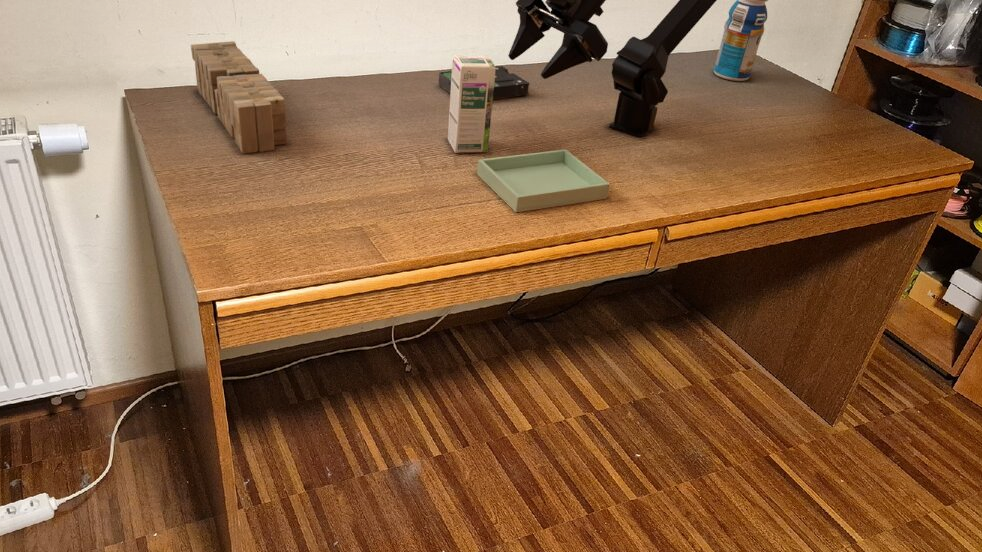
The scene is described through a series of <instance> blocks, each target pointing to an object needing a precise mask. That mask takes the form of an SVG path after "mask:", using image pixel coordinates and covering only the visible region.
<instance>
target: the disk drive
mask: <svg viewBox="0 0 982 552" xmlns="http://www.w3.org/2000/svg"><path fill="white" fill-rule="evenodd" d="M495 67H496V70H495V81H494V91H493V100H499V99H507V98H513V97H520V96H525V95H528V94H529V87H530V82H529V81H527V80H525V79H523V78H522V77H520V75H518V74H516V73H514V72H513V73H510V72H509V69H508V68H506V67H505V66H503V65H500V66H499V65H495ZM451 77H452V70H448V71H442V72H441V71H440V72H439V73H438V85H439V86H440V87H441V88H442V89H444V90H445V91H447V92H448V93H449V94H451Z"/></svg>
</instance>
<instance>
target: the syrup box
mask: <svg viewBox="0 0 982 552" xmlns="http://www.w3.org/2000/svg"><path fill="white" fill-rule="evenodd" d="M451 60H452V63H451V71H452V77H451V93H449V94H450V95H449V96H450V97H449V98H450V99H449V111H448V112H449V113H448V128H447V129H448V130H447V141H448V142H449V145H450V146H451V148H452V150H453V152H454V153H455V154H460V153H488V151H489V143H490V130H491V123H492V122H491V120H492V110H493V102H494V101H493V100H494V99H493V91H494V81H495V70H496V65H495V64H494V62H493V61H492V60H491V58H489V56H487V55H480V56H479V55H453V56H452V59H451Z"/></svg>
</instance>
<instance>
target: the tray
mask: <svg viewBox="0 0 982 552" xmlns="http://www.w3.org/2000/svg"><path fill="white" fill-rule="evenodd" d="M476 175H477V176H478V178H480V179H481V180H482V181H483V182H484V183H485V184H486V185H487V186H488V187H489V188H490V189H491V190H492V191H493V192H495V194H497V196H499V198H500V199H501V200H502V201H503V202H505V204H507V205H508V206H509V207H510V208H511V209H512V210H513V211H514V212H515V213H521V212H528V211H534V210H541V209H547V208H555V207H561V206H568V205H575V204H580V203H587V202H594V201H600V200H607V199H608V196H609V191H610V186H611V184H610V182H608V181H607V180H606V179H605V178H603V177H602V176H600V175H599V174H598V173H597V172H595V170H593V169H592V168H591V167H589V166H587V164H585V163H584V162H582V161H581V160H580V159H579V158H578V157H577V156H575V155H574V154H572V153H571V151H569V150H568V149H558V150H557V149H556V150H547V151H540V152H531V153H524V154H523V153H522V154H515V155H507V156H498V157H490V158H481V159H478V160H477V169H476Z"/></svg>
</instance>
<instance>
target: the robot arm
mask: <svg viewBox="0 0 982 552" xmlns="http://www.w3.org/2000/svg"><path fill="white" fill-rule="evenodd" d="M606 1H607V0H545V2H544V0H516V2H515V6H516V7H517V14H518V15H519V25H518V29H517V32H516V34H515V37H514V40H513V41H512V45H511V48H510V50H509V52H508V55H507V56H508V58H509V59H510V60H511V61H514V60H515V59H517V58H518V57H520V56H522V55H523V54H524V53H526V52H527V51H528V50H529V49H530V48H531V47H533V46H534V45H536V43H539V41H541V40H542V39H543V38H544V37H545V36H546V35H545V34H544V33H545V32H548V31H550V29H551V28H553V29H555V30H557V31H559V32H561V33H563V38H562V43H561V45H560V47H558V50H557V51H556V52H555V53H554V54H553V56H552V57H551V58H550V60H549V61H548V62H547V63H546V64H545V66H544V68H543V70H542V71H541V73H540V77H541V78H542V79H543V80H547V79H549V78H551V77H553V76H555V75H558V74H560V73H561V72H564V71H566V70H568V69H572V68H574V67H576V66H579V65H582V64H585V63H592V62H593V59H594V60H595V61H597V62H600V61H601V60H602V58H603V57H604V56H605V55H606V54H607V52H608V47H609V43H608V41H607V39H606V38H605V36H604V35H603V34H602V32H601V31H600V29H599V27H598V26H597V25H596V24H595V23H593V22H591V21H590V20H591V19H592V17H593V16H594V15H595V16H597V17H598V18H599V17H601V15H603V13H604V10H603V8H602V6H603V5H604V3H605V2H606ZM717 1H718V0H678V1H677V2H676V4H675V5H674V6H673V7H672V8H671V9H670V10H669V12H668V13H667V14H666V15H665V16H664V18H662V19H661V21H660V22H659V23H658V24H657V25H656V27H655V28H654V29H653V30H652V32H650V34H648V35H647V36H646V37H644V38H642V39H640V38H638V37H635V36H631V37H630V38H629V39H628V40H627V42H626V43H625V45H624V46H623V47H622V48H621V49H620V50H618V51H617V52H616V55H617V56H616V57H615V58H614V60H613V61H612V64H611V67H612V68H611V77H612V80H613V88H614V90H616V91H619V93H618V98H617V103H616V107H615V108H616V109H615V113H614V119H613V121H612V122H611V123H610V124H609V126H608V127H609V128H610V129H614V130H615V131H619V132H623V133H626V134H628V135H631V136H635V137H636V138H637V137H638V138H641V137H643V136H644V135H646V134H648V133H649V132H650V131H652V130H653V129H654V128H655V122H656V117H657V112H658V104H660V103H664V101H665V99H666V97H667V95H668V93H669V90H668V88H667V87H666V85H665V83H664V82H663V80H662V78H663V76H664V75H665V74H666V72H667V71H666V70H667V65H668V60H669V56H670V55H671V53H673V52H674V51H675V49H676V48H677V47H678V46H679V44H680V43H681V42H682V41H683V40H684V39H685V38H686V36H687V35H688V34H689V33H690V32H691V30H693V28H694V27H695V26H696V25H697V24H698V23H699V21H700V20H701V19H702V18H703V17H704V16H705V15H706V13H707V12H708V11H709V10H710V8H711V7H712V6H713V5H714V4H715V3H716V2H717ZM550 9H551V10H550Z"/></svg>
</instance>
